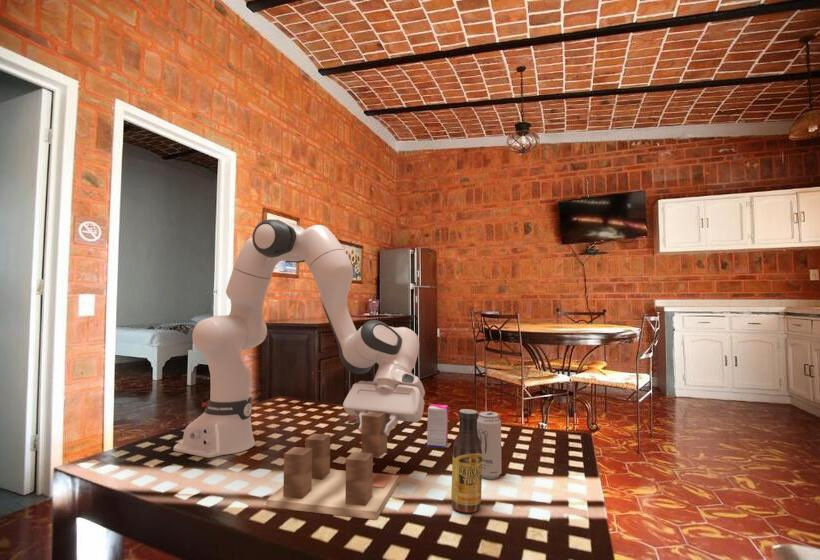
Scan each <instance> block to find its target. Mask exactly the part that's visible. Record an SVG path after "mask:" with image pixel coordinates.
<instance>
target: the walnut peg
mask: <svg viewBox="0 0 820 560" xmlns="http://www.w3.org/2000/svg"><path fill="white" fill-rule="evenodd" d="M387 423H388V419H387V413H381V412H371V411H369V412H367V413H365V414H363V415H362V433H361V452H362V453H373V458H380V457H382V455H384V454H385V453H387V452H388V436H385V435H382V434H381V429H382V426H383V425H387Z"/></svg>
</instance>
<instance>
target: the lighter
mask: <svg viewBox="0 0 820 560" xmlns="http://www.w3.org/2000/svg"><path fill="white" fill-rule="evenodd" d="M347 422H348V424H351V423H352V424H360V418H359V416H355V415H348V421H347Z"/></svg>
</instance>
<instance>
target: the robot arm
mask: <svg viewBox="0 0 820 560" xmlns="http://www.w3.org/2000/svg"><path fill="white" fill-rule="evenodd" d="M279 262H285V263H299V264H301V263H306V265H307V267H308V269H309V272H310V273H311V275H312V277H313V279H314V282H315V285H316V287H317V291H318V293H319V297H320V302H321V306H322V307H323V311H324V314H325V316H326V319H327V321H328V323H329V325H330V327H331V330H332V332H333V336H334V338H335V340H336V342H337V343H336V344H337V346H338V355H339V359H340V360H339V361H340V363H341V365H343V367H344V368H345V369H346V370H347V371H349V372H351V373H353V374H357V375H362V374H366V373H368V372H370V370H371V369H372V368H373V367H374V366H375V365H376V364H378V369H377V370H376V373H375V376H374V379H372V381H370V380H368V381H366V380H359V381H357V382H355V383H354V384H352V386H351V388H350V390H349V391H348V394H347V395H346V397H345V399H344V401H343V403H342V407H343V409H344V411H345V412H346V414H347V415H348V416H349V415H355V416H359V418H360V422H359V426H358V432H359V433H361V434H362V415H363V414H365V413H367V412H369V411H371V412H381V413H387V420H389V421H387V425H383V426H382V429H381V434H382V435H385V436H387V437H389V435H390V433H391V430H392V429H393V428H395V427H396V426H397V425H398V422H399V421H403V422H411V423H418V422H419V421H420V420H422V418H423V414H424V410H425V409H424V408H425V400H424V396H425V395H426V391H425V388H424V385H423V383H422V381H421V380H420V378H419V377H418V376H416V375H415V374H412V370H413V369H414V367H416V363H417V359H418V355H419V351H420V340H419V337H418V335H417V333H416V332H415V331H414V330H413V329H410V328H408V327H405V326H399V327H393V326H389V325H388V324H386V323H385V322H383V321H381V320H377V319H371V320H368V321H366V322H364V323H363V325H362V326H360V328H358V330H357V328H356V326H355V324H354V322H353V319H352V317H351V315H350V313H349V309H348V298H349V297H348V296H349V293H350V292H349V291H350V288H351V285H352V282H353V279H354V267H353V265H352V261H351V259H350V258H349V256H348V254H347V252H346V250H345V249H344V247H343V246H342V244H341V242H340V241H339V240H338V239H337V237H336V236H335V234H334V233H332V231H331V230H330V229H329V228H328V227H326V226H325V225H322V224H315V225H311V226H308V227H307V228H305V227H302V226H300V225H297V224H295V223H291V222H285V221H282V220H279V219H272V218H271V219H264V220H262V221H260V222H259V223H258V224H257V225H256V226H255V227H254V230H253V232H252V237H249V238H248V239H247V240H246V241H245V242H244V243H243V246H242V248H241V250H240V251H239V254H238V255H237V258H236V259H235V263H234V265H233V268H232V271H231V274H230V277H229V280H228V284H227V285H226V289H225V290H226V291H225V293H226V294H225V295H226V296H227V297H228V299H229V300H230V311H229V314H228V315H227V314H226V315H215V316H210V317H208V318H203V319H201V320H199V321H198V322H197V323H196V325H195V326H194V328H193V329H192V330H193V331H192V335H191V336H192V337H191V338H192V342H193V345H194V347H195V349H196V350H198V351H199V352H200V353H201V354H202V355H203V357H204V359H205V360H206V364H207V365H208V371H209V374H210V375H209V376H210V395H209V396H210V398H209V399H208V400H206V401H205V402H202V403H201V407H203V408H204V407H205V409H204V412H203V413H202V414H201V415H199V416H198V417H197V418H195V419H194V420H193V421H192V422H190V423H189V424H188V425H186V427H185V429H184V432H183V437H182V440H181V441H179V442H178V443H176V444H175V445H174V446H173V449H172V450H173V451H174V452H178V453H183V454H189V455H193V456H199V457H202V458H203V457H204V458H207V459H208V458H215V457H219V456H223V455H224V456H225V455H232V454H238V453H241V452H244V451H247V450H249V449H251V448H253V447H254V446H255V445H256V441H255V438H254V434H253V428H252V418H251V417H252V409H253V408H252V407H253V398H252V396H251V389H252V388H251V387H252V386H251V384H252V383H251V381H252V376H251V375H252V373H251V370H250V368H248V367H247V366H246V365H245V363H244V360H243V358H242V354H241V351H246V350H251V349H253V348H255V347H257V346H259V345H260V344H262V343H263V342H264V341H265V340H266V338H267V335H268V328H267V324H266V321H264V318H263V315H264V313H263V311H264V310H263V309H264V303H265V298H266V295H267V292H268V289H269V286H270V283H271V280H272V277H273V273H274V270H275V267H276V266H277V264H279Z"/></svg>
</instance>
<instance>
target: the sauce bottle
mask: <svg viewBox="0 0 820 560" xmlns="http://www.w3.org/2000/svg"><path fill="white" fill-rule="evenodd" d="M478 417H479V412H478V411H477V410H475V409H469V408H465V409H464V408H461V409H460V410H459V411H458V418H459V424H458V425H459V429H458V434H457V435H456V436H455V439H454V442H453V449H452V450H453V451H452V452H453V453H452V463H451V464H452V466H451V469H452V470H451V494H450V496H451V497H450V498H451V506H452V508H453V509H454V510H455V511H457V512H459V513H465V514H471V513H474V512H477V511H479V510H480V508H481V502H482V481H483V478H482V448H481V441H480V439H479V437H478V434H477V419H478Z"/></svg>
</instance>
